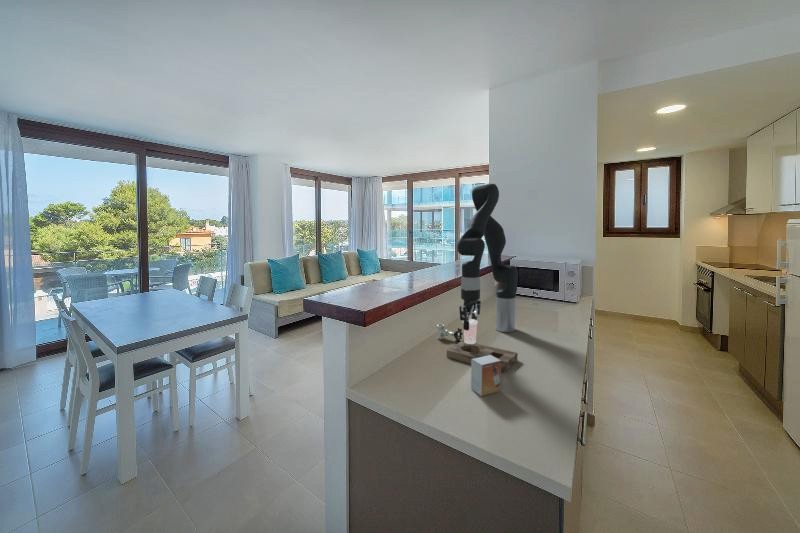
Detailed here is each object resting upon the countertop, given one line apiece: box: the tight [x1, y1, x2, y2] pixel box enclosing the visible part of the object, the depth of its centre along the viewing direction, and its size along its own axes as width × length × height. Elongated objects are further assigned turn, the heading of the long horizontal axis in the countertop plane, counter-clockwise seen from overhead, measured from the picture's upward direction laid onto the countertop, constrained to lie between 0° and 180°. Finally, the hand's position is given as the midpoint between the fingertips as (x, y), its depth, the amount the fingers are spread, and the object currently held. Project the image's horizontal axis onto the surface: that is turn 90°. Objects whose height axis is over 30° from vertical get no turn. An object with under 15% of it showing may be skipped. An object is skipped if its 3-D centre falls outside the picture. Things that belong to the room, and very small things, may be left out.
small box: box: [470, 355, 502, 397], centre depth 104 cm, size 8×6×10 cm
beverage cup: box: [462, 316, 479, 344], centre depth 130 cm, size 6×6×14 cm
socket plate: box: [446, 339, 519, 374], centre depth 128 cm, size 14×24×3 cm, turn 50°
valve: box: [435, 323, 464, 343], centre depth 150 cm, size 7×7×12 cm
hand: (470, 327), depth 130 cm, fingers closed on beverage cup, 6 cm apart
